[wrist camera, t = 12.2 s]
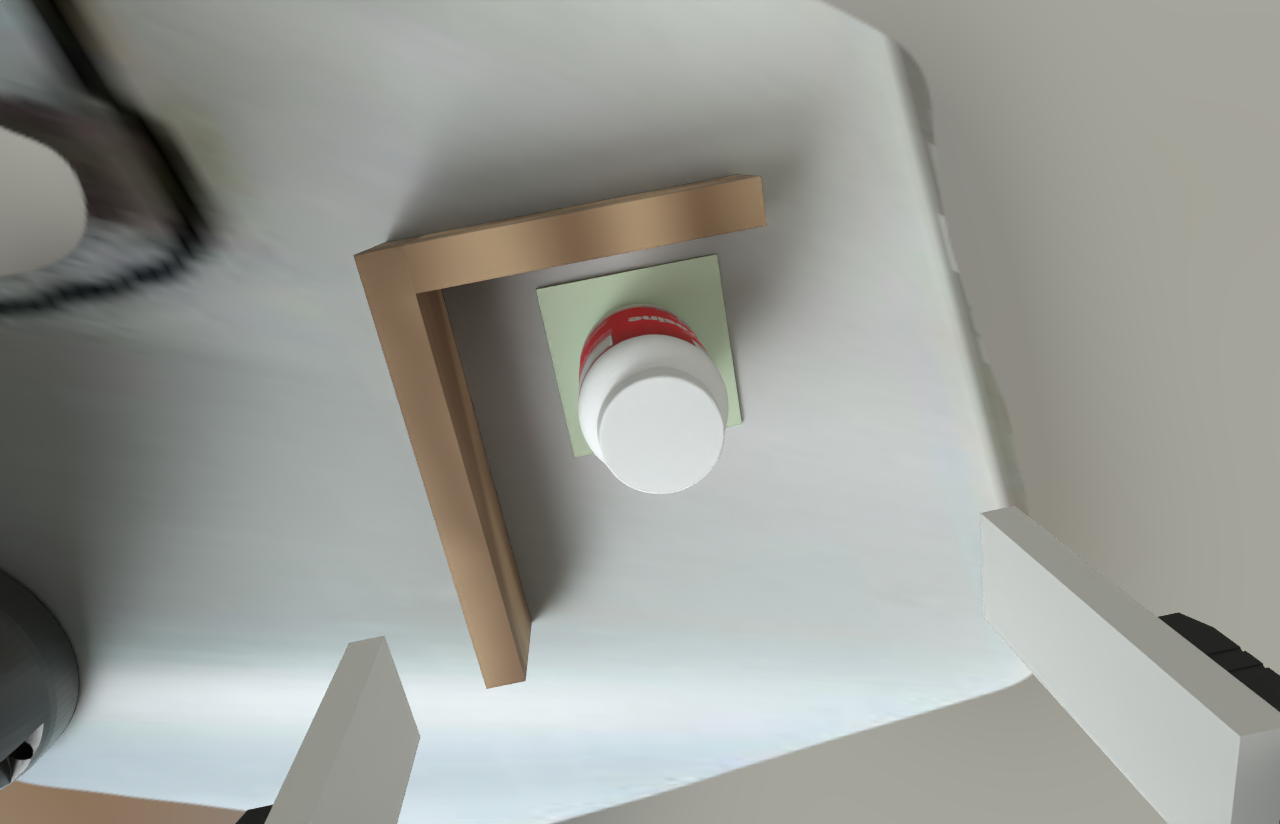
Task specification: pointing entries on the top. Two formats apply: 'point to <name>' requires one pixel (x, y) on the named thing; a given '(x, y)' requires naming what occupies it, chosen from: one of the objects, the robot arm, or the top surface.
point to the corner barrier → (435, 382)
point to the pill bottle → (651, 399)
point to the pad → (668, 285)
